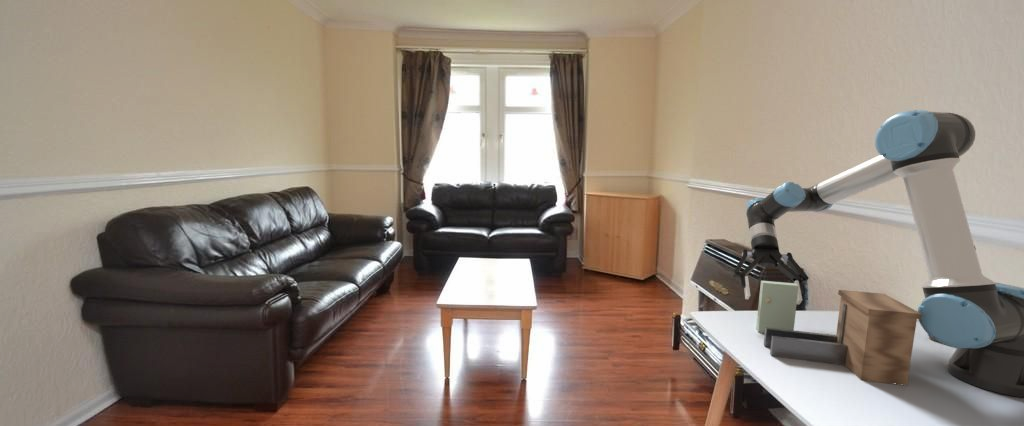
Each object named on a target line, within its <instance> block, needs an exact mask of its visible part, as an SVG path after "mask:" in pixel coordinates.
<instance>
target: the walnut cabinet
mask: <svg viewBox="0 0 1024 426" xmlns="http://www.w3.org/2000/svg"><path fill="white" fill-rule="evenodd" d="M837 295H839V297H840V303H839V304H840V305H839V311H838V318H837V326H836V327H837V328H836V334H835V335H836V336H837V343H841V344H846V345H847V346H848V350H847V357H846V365H845V366H846V367H847V368H848V369H849V370H850V369H851V370H850V371H851V372H852V374H854V375H855V376H856V377H857V378H858V379H859V380H860V381H868V382H876V383H881V384H883V383H884V384H889V383H896V384H895V385H897V384H903V385H902V386H905V385H907V386H908V381H909V374H910V368H911V361H912V354H913V346H914V341H915V335H916V327H917V321H918V320H919V319H921V317H922V314H921V313H919V312H918V310H915V309H913V308H912V307H911V306H908V305H906V304H904V303H903V302H900V301H899V300H897V299H895V298H893V297H891V296H890V295H887V294H886V293H878V292H871V291H870V292H868V291H857V290H856V291H855V290H845V289H838V293H837Z"/></svg>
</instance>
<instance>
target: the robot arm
mask: <svg viewBox="0 0 1024 426" xmlns="http://www.w3.org/2000/svg"><path fill="white" fill-rule="evenodd" d="M975 140H976V129H975V127H974V125H973V123H972V122H971V121H970V120H969V119H968V118H966V117H964V116H963V115H960V114H958V113H954V112H942V111H941V112H939V111H928V110H923V109H916V110H905V111H901V112H898V113H896V114H893V115H891V116H890V117H888V118H887V119H886V120H884V121H883V122H882V124H881V126H880V127H879V128H878V130H877V132H876V134H875V139H874V146H875V149H876V151H877V153H878V155H876V156H874V157H872V158H869V159H868V160H865V161H864V162H861V163H859V164H857V165H854V166H853V167H851V168H848V169H847V170H844V171H842V172H840V173H838V174H835V175H834V176H831V177H829V178H827V179H825V180H823V181H821V182H819V183H816V184H814V185H813V186H809V187H804V188H803V187H802V186H801V185H800V184H799V183H795V182H793V181H786V182H784V183H782V184H781V185H779V186H777V187H776V188H775V189H774V190H773V191H772V192H770V194H768V195H767V196H765V197H756V198H754V199H750V200H749V201H748V202H747V203H746V207H745V208H746V218H747V225H748V232H749V238H750V245H751V247H750V248H751V251H748V249H746V248H745V249H743V250H742V252H741V257H740V259H739V261H738V263H737V265H736V266H735V269H734V270H733V273H732V277H733V278H738V281H739V285H740V288H741V289H744V291H743V292H744V299H745V300H749V299H750V297H751V289H750V282H749V276H748V275H749V274H750V273H751V272H752V271H753V270H754V269H755V268H757V267H758V266H760V267H768V268H773V267H774V268H775V269H776V270H779V271H780V272H781V273H782V274H783V275H785V276H786V277H787V278H788V279H790V280H791V281H792V283H795V284H797V285H798V286H799V287H798V296H797V305H800V304H801V303H802V301H803V296H802V294H803V293H804V291H805V289H804V285H803V284H806V283H807V282H808V280H809V279H810V278H809V276H808V275H807V273H806V272H804V269H802V267H801V266H800V265H799V264H798V263H797V261H796V260H795V259H794V257H793V255H792V253H791V252H787V253H781V252H780V248H779V242H778V241H779V240H778V235H777V231H776V225H775V221H776V220H777V219H779V218H781V217H782V216H783V215H785V214H787V213H789V212H795V213H796V212H816V213H817V212H822V211H827V210H829V209H830V208H832V206H833V205H834V204H836V203H838V202H840V201H843V200H846V199H848V198H850V197H853V196H856V195H858V194H860V193H863V192H864V191H868V190H869V189H872V188H875V187H878V186H880V185H882V184H885V183H888V182H890V181H892V180H894V179H896V178H902V180H903V182H904V186H905V190H906V193H907V198H908V201H909V202H908V203H909V206H910V210H911V213H912V217H913V221H914V225H915V228H916V229H915V230H916V232H917V236H918V241H919V244H920V247H921V252H922V256H923V260H924V263H925V268H926V272H927V275H928V279H927V281H926V282H925V283H924V284H922V290H923V291H922V292H923V294H924V295H923V296H924V299H923V300H922V301H921V303H920V304H919V306H918V307H917V312H919V313H921V314H922V317H921V319H918V322H919V323H920V326H921V327H922V329H923V330H924V331H925V333H928V334H929V335H930V336H931V337H933V338H935V339H936V340H937V341H936V342H939V343H940V344H943V345H944V346H948V347H950V348H956V350H955V351H954V352H953V354H952V355H951V357H950V358H949V360H948V362H947V368H946V369H947V371H948V372H949V373H950V374H951V375H952V376H954V377H955V378H957V379H958V380H960V381H963V382H965V383H967V384H970V385H973V386H975V387H978V388H981V389H983V390H987V391H990V392H993V393H998V394H1002V395H1006V396H1007V395H1008V396H1010V397H1011V396H1013V397H1019V398H1024V287H1020V286H1015V285H1011V284H1005V283H1001V282H995V281H994V280H992V279H990V278H988V277H986V276H985V275H984V274H983V272H982V268H981V266H980V262H979V258H978V254H977V249H976V250H975V248H976V246H975V247H974V245H975V244H974V240H973V236H972V233H971V229H970V226H969V223H968V219H967V215H966V211H965V207H964V204H963V200H962V197H961V194H960V191H959V187H958V183H957V180H956V176H955V171H954V168H955V167H956V166H957V164H959V163H960V161H961V160H960V159H961V158H960V157H961V156H963V155H964V154H966V153H967V152H968V151H969V150H970V149H971V148H972V147H973V145H974V142H975ZM750 257H751V258H752V260H753V261H751V263H749V265H748V266H747V267H746V268H745V269H743V271H741V270H742V268H743V266H744V263H745V261H746V260H747V259H749V258H750ZM785 263H786V264H785ZM740 271H741V272H740ZM928 334H927V335H928Z"/></svg>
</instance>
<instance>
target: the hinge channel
mask: <svg viewBox="0 0 1024 426" xmlns="http://www.w3.org/2000/svg"><path fill="white" fill-rule="evenodd" d="M763 347H767V348H770V351H769V352H770V353H769V354H770V356H771V357H776V358H785V359H792V360H793V359H795V360H801V361H802V360H803V361H810V362H817V363H825V364H833V365H835V364H836V365H841V366H842V365H843V366H846V357H847V350H848V346H847V345H846V344H841V343H837V336H836V334H831V333H830V334H829V333H822V332H821V333H820V332H812V331H804V330H803V331H802V330H795V329H794V330H785V329H776V328H767V327H765V333H764V338H763Z"/></svg>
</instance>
